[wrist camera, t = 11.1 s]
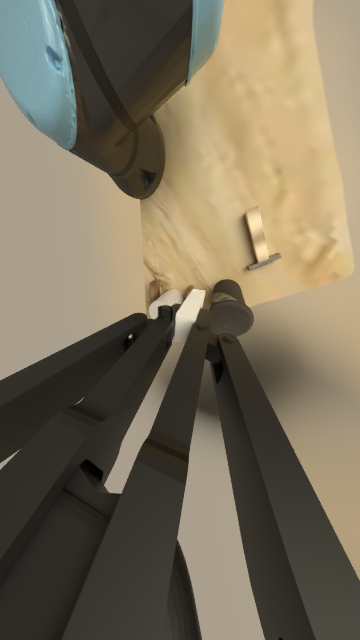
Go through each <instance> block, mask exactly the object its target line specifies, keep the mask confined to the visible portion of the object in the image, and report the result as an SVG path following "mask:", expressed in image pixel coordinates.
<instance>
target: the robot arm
mask: <svg viewBox="0 0 360 640" xmlns="http://www.w3.org/2000/svg"><path fill="white" fill-rule="evenodd" d="M223 5H224V0H0V76H1V78H2V80H3V82H4V84H5V86H6V88H7V89H8V91H9V93H10V95H11V96H12V98H13V99H14V101H15V103H16V104H17V106H18V107H19V109H20V110H21V111H22V113H23V114H24V115H25V116H26V118H27V119H28V120H29V121H30V122H31V123H32V124H33V125H34V126H35V127H36V128H37V129H38V130H39V131H41V132H42V133H43V134H45V135H46V136H48V137H49V138H51V139H52V140H54V141H55V142H56V143H57V144H58V145H59V146H61V147H62V148H63V149H66V150H68V151H70V152H71V153H73V154H75V155H77V156H78V157H80V158H82V159H83V160H85V161H87V162H89V163H90V164H92V165H94V166H96V167H97V168H99V169H101V170H103V171H104V172H106V173H108V174H109V176H110V177H111V178H112V179H113V181H114V182H115V183H116V185H117V186H118V187H119V188H120V189H121V190H122V191H123V192H124V193H126V194H127V195H129V196H131V197H133V198H136V199H144V198H147V197H149V196H150V195H151V194H153V193H154V191H155V190H156V189H157V187H158V185H159V183H160V181H161V178H162V175H163V171H164V165H165V146H164V140H163V136H162V132H161V129H160V127H159V124H158V122H157V120H156V118H155V117H154V115H153V113H154V112H155V111H156V110H157V109H158V108H160V107H161V106H162V105H163V104H164V103H165V102H166V101H167V100H168V99H169V98H171V97H172V96H173V95H174V94H175V93H176V92H177V91H178V90H179V89H180V88H181V87H183V86H184V85H185V87H186V86H187V85H188V84H189V83H190V80H191V78H192V77H193V76H194V74H195V73H196V72H197V71H198V70H199V69H200V68H201V67H202V66H203V65H204V64H205V63H206V62H207V61H208V60H209V59H210V57H211V56H212V54H213V52H214V50H215V47H216V44H217V41H218V38H219V33H220V27H221V22H222V15H223ZM205 292H206V291H204V290H198V289H193V290H192V291H191V293H190V294H189V295H188V297H187V298H186V300H185V301H184V303H183V304H177V303H175V304H173V305H172V306H169V305H162V306H159V307H158V317H157V318H156V319H147V315H145V314H143V313H135V314H132V315H130V316H128V317H126V318H124V319H122V320H120V321H118V322H116V323H114V324H112V325H110V326H108V327H107V328H104V329H102V330H100V331H98V332H96V333H94V334H92V335H90V336H88V337H86V338H84V339H82V340H80V341H78V342H76V343H74V344H72V345H70V346H68V347H66V348H65V349H62V350H60V351H58V352H56V353H54V354H52V355H50V356H48V357H47V358H44V359H43V360H40V361H38V362H36V363H34V364H33V365H30V366H28V367H27V368H24V369H23V370H20V371H19V372H16V373H15V374H12V375H10V376H8V377H6V378H5V379H2V380H1V381H0V463H1V462H2V461H4V460H5V459H7V458H8V457H10V456H11V455H12V454H14V453H15V452H17V451H18V450H19V451H18V452H17V454H15V456H14V457H13V458H12V459H11V460H10V461H9V462H8V463H7V464H6V465H5V466H4V467H3V468H2V469H1V470H0V640H202V637H201V632H200V626H199V621H198V615H197V610H196V604H195V599H194V594H193V589H192V585H191V580H190V576H189V573H188V569H187V565H186V561H185V558H184V555H183V552H182V550H181V546H180V545H179V542H178V540H177V535H178V529H179V523H180V517H181V510H182V503H183V498H184V492H185V485H186V479H187V472H188V463H189V450H190V444H191V438H192V432H193V425H194V420H195V415H196V409H197V403H198V397H199V390H200V385H201V379H202V373H203V367H204V361H205V359H207V360H208V361H210V366H211V371H212V377H213V382H214V388H215V393H216V399H217V405H218V410H219V416H220V421H221V426H222V432H223V438H224V443H225V449H226V455H227V460H228V466H229V471H230V477H231V482H232V488H233V494H234V499H235V505H236V510H237V515H238V521H239V527H240V532H241V538H242V543H243V549H244V554H245V559H246V563H247V568H248V573H249V578H250V583H251V587H252V591H253V595H254V599H255V603H256V606H257V611H258V614H259V618H260V622H261V626H262V629H263V634H264V637H265V640H360V581H359V579H358V577H357V575H356V573H355V571H354V569H353V567H352V565H351V563H350V561H349V559H348V557H347V555H346V553H345V551H344V549H343V547H342V545H341V543H340V541H339V539H338V537H337V535H336V533H335V531H334V529H333V527H332V525H331V523H330V521H329V519H328V517H327V515H326V513H325V511H324V509H323V507H322V505H321V503H320V501H319V499H318V497H317V495H316V493H315V491H314V489H313V487H312V485H311V483H310V481H309V479H308V477H307V475H306V473H305V471H304V470H303V467H302V466H301V464H300V462H299V460H298V458H297V456H296V454H295V452H294V450H293V448H292V446H291V444H290V442H289V440H288V438H287V436H286V434H285V432H284V430H283V428H282V426H281V424H280V422H279V420H278V418H277V416H276V414H275V412H274V410H273V408H272V406H271V404H270V402H269V400H268V398H267V396H266V394H265V392H264V390H263V388H262V386H261V384H260V382H259V380H258V378H257V377H256V374H255V372H254V370H253V368H252V366H251V364H250V362H249V360H248V358H247V356H246V355H245V352H244V351H243V348H242V346H241V344H240V342H239V340H238V339H237V338H236V337H235V336H233V335H231V334H228V333H222V334H220V335H217V334H215V333H213V332H212V331H211V330H210V322H211V316H212V312H211V310H207V309H203V308H202V307H203V302H204V297H205ZM131 334H132V338H130V339H129V337H128V336H129V335H131ZM173 337H174V341H176V342H180V343H184V344H185V345H184V348H183V350H182V353H181V355H180V358H179V360H178V363H177V365H176V368H175V370H174V373H173V375H172V378H171V381H170V383H169V386H168V388H167V391H166V393H165V396H164V399H163V401H162V403H161V406H160V408H159V411H158V414H157V416H156V419H155V421H154V424H153V426H152V429H151V431H150V434H149V436H148V438H147V439H146V440H145V441H144V443H143V445H142V447H141V449H140V451H139V453H138V455H137V458H136V460H135V462H134V465H133V467H132V470H131V472H130V474H129V477H128V479H127V482H126V484H125V486H124V489H123V491H122V494H116V493H109V492H108V491H107V489H106V488H105V486H104V484H105V482H106V480H107V478H108V476H109V474H110V472H111V470H112V468H113V466H114V464H115V461H116V459H117V456H118V454H119V450H120V446H121V443H122V440H123V438H124V436H125V434H126V433H127V430H128V428H129V427H130V425H131V423H132V421H133V419H134V417H135V415H136V413H137V411H138V409H139V407H140V405H141V403H142V401H143V399H144V397H145V395H146V393H147V392H148V390H149V388H150V386H151V384H152V382H153V380H154V378H155V376H156V374H157V372H158V370H159V368H160V366H161V364H162V362H163V360H164V359H165V357H166V355H167V353H168V351H169V349H170V347H171V345H172V339H173ZM82 398H84V399H83V400H82V401H80V400H81V399H82ZM79 401H80V403H78V402H79ZM76 403H78V404H76ZM75 404H76V405H75Z"/></svg>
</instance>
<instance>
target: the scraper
mask: <svg viewBox="0 0 360 640" xmlns="http://www.w3.org/2000/svg"><path fill="white" fill-rule="evenodd" d="M245 217H246V221H247V225H248V229H249V233H250V236H251V240H252V244H253V248H254V252H255V256H256V260H257V262H256V263H253V264H251V265H249V266H248V268H249V270H253V269H255V268H257V267H260V266H262V265H265V264H267V263H270V262H272V261H274V260H277V259H279V258H281V254H279V253H276V254H274V255H272V256H269V254H268V250H267V245H266V240H265V236H264V231H263V226H262V222H261V217H260V212H259V208H258V205H257V206H255V207H254V208H252V209H250V210H249V211H247V212H246V213H245Z"/></svg>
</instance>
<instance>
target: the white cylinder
mask: <svg viewBox="0 0 360 640" xmlns="http://www.w3.org/2000/svg"><path fill="white" fill-rule="evenodd" d="M175 303H177V304H183V303H184V297H183V295H182V293H181V292H180V291H178V290H176V289H169V290H168V291H166V292H165V293H164V294H163V295H161V296H160V297H159V298H158V299H157V300H155V301H154V302H153V303H152V304H151V305H150V307H149V314H150V317H151V318H152V319H156V318H157V317H158V307H159V306H162V305H169V306H172V305H173V304H175Z"/></svg>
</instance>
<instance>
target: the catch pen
mask: <svg viewBox="0 0 360 640" xmlns="http://www.w3.org/2000/svg"><path fill="white" fill-rule="evenodd" d="M193 289H194V286H190V287H189V288H188V289H187V295H186V298H187V297H188V295H189V294H190V293H191V291H192V290H193ZM150 296H151V304H152V303H153V302H154V301H155V300H157V299H158V298H159V297H160V280H158V279H156V280H154V281H152V282H150Z"/></svg>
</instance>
